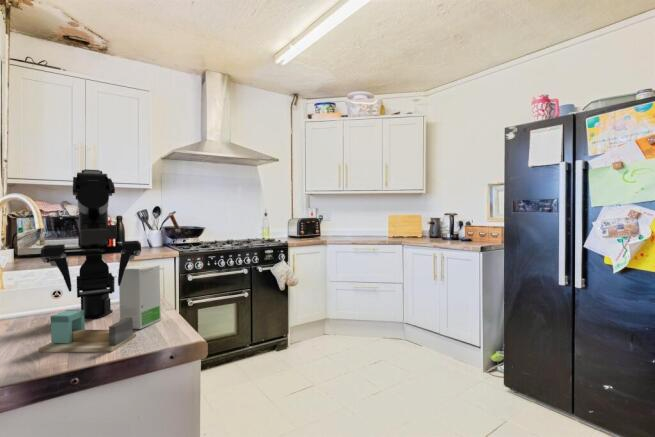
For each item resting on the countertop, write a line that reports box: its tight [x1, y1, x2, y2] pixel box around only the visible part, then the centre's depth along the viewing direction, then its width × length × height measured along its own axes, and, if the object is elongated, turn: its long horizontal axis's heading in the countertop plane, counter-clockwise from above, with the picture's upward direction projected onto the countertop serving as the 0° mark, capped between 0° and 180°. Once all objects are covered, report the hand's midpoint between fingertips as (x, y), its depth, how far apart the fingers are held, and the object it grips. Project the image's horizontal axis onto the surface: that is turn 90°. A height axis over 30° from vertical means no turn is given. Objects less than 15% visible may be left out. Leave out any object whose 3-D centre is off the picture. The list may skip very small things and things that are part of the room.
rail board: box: [38, 317, 137, 353], centre depth 78 cm, size 16×9×5 cm, turn 89°
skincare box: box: [118, 264, 162, 330], centre depth 91 cm, size 8×7×16 cm
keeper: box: [50, 309, 86, 343], centre depth 78 cm, size 4×5×6 cm
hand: (95, 288), depth 77 cm, fingers open, 9 cm apart
